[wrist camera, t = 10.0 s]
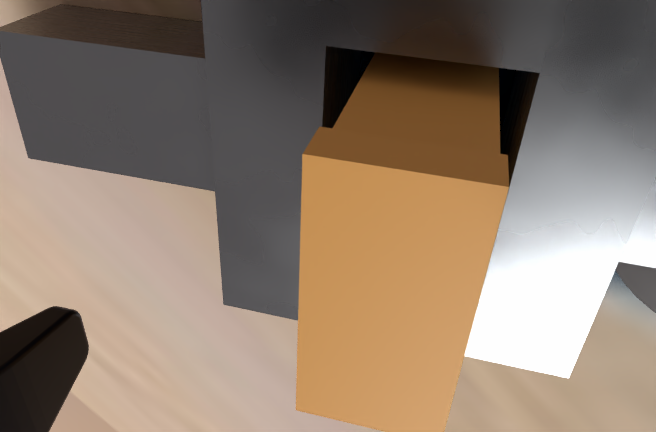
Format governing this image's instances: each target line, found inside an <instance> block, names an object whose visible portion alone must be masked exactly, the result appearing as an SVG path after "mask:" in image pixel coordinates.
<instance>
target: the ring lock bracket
mask: <svg viewBox="0 0 656 432" xmlns="http://www.w3.org/2000/svg"><path fill="white" fill-rule="evenodd" d="M201 7H202V21H203V22H199V21H191V20H183V19H175V18H166V17H158V16H150V15H142V14H134V13H126V12H118V11H110V10H102V9H93V8H85V7H77V6H69V5H61V4H60V5H57V6H55V7H52V8H49V9H47V10H44V11H41V12H39V13H36V14H33V15H31V16H28V17H25V18H23V19H20V20H18V21H15V22H12V23H10V24H7V25H4V26H2V27H0V58H1V62H2V65H3V69H4V72H5V76H6V80H7V83H8V87H9V90H10V94H11V97H12V101H13V105H14V108H15V112H16V115H17V119H18V122H19V126H20V130H21V133H22V137H23V140H24V144H25V147H26V151H27V155H28V158H31V159H36V160H42V161H47V162H53V163H59V164H64V165H70V166H76V167H81V168H87V169H92V170H98V171H104V172H109V173H115V174H121V175H126V176H132V177H138V178H143V179H149V180H154V181H160V182H166V183H171V184H177V185H183V186H188V187H194V188H199V189H205V190H211V191H215V196H216V209H217V223H218V236H219V250H220V263H221V277H222V290H223V304H224V305H228V306H233V307H237V308H242V309H247V310H251V311H256V312H261V313H266V314H270V315H275V316H280V317H284V318H289V319H294V320H298V307H299V268H300V230H301V191H302V154H303V152H304V151H305V149H306V147H307V146H308V144H309V143H310V141H311V139H312V138H313V136H314V134H315V133H316V131H317V129H318V128H319V127H326V128H333V127H334V125H335V123H336V121H337V120H338V118H339V116H340V114H341V112H342V111H343V109H344V107H345V105H346V104H347V102H348V100H349V98H350V97H351V95H352V93H353V91H354V89H355V88H356V86H357V84H358V82H359V70H360V58H361V50H362V51H370V52H378V53H386V54H394V55H402V56H410V57H418V58H426V59H434V60H441V61H449V62H457V63H465V64H473V65H481V66H489V67H497V68H505V69H513V70H516V73H515V77H514V82H513V86H512V90H511V94H510V98H509V102H508V106H507V111H506V115H505V119H504V123H503V127H502V131H501V135H500V154H505V155H508V171H509V189H508V193H507V197H506V201H505V205H504V208H503V212H502V216H501V220H500V223H499V227H498V231H497V235H496V238H495V242H494V246H493V250H492V254H491V257H490V261H489V265H488V269H487V272H486V276H485V280H484V284H483V287H482V291H481V295H480V299H479V303H478V306H477V310H476V314H475V318H474V321H473V325H472V329H471V333H470V336H469V340H468V344H467V348H466V351H465V355H464V356H467V357H471V358H476V359H481V360H485V361H490V362H495V363H499V364H504V365H509V366H513V367H518V368H523V369H527V370H532V371H537V372H541V373H546V374H551V375H556V376H560V377H565V378H569V376H570V374H571V372H572V370H573V367H574V365H575V363H576V360H577V358H578V356H579V353H580V351H581V349H582V346H583V344H584V342H585V339H586V337H587V335H588V332H589V330H590V328H591V325H592V323H593V321H594V318H595V316H596V314H597V311H598V309H599V307H600V304H601V302H602V300H603V297H604V295H605V293H606V290H607V288H608V286H609V283H610V281H611V279H612V276H613V274H614V272H615V270H616V271H617V273H618V274H619V276H620V278H621V279H622V281H623V282H624V283H625V285H626V286H627V287H628V288H629V289H630V290H631V291H632V292H633V294H634V295H635V296H636V297H637V298H638V299H639V300H641V301H642V302H643V303H644V304H645V305H646V306H648V307H649V308H650V309H651V310H652V311H654V312H655V313H656V0H201Z"/></svg>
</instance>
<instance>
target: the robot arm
mask: <svg viewBox="0 0 656 432" xmlns="http://www.w3.org/2000/svg"><path fill="white" fill-rule="evenodd" d="M88 350H89V345H88V341H87V337H86V333H85V329H84V326H83V322H82V318H81V316H80V314H79V313H78V312H77V311H76V310H72V309H68V308H63V307H58V306H54V307H50V308H48V309H45V310H44V311H42V312H40V313H38V314H36V315H34V316H32V317H30V318H28V319H26V320H24V321H22V322H20V323H18V324H16V325H14V326H12V327H10V328H8V329H6V330H4V331H2V332H0V432H49V430H50V428H51V427H52V425H53V423H54V421H55V419H56V417H57V415H58V413H59V411H60V409H61V407H62V405H63V403H64V401H65V399H66V398H67V396H68V394H69V392H70V390H71V388H72V386H73V384H74V382H75V380H76V378H77V376H78V374H79V372H80V370H81V369H82V367H83V365H84V363H85V361H86V358H87V355H88Z"/></svg>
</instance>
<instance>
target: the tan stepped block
mask: <svg viewBox="0 0 656 432" xmlns="http://www.w3.org/2000/svg"><path fill="white" fill-rule="evenodd" d="M508 189H509V171H508V155H505V154H500V102H499V68H497V67H489V66H481V65H473V64H465V63H457V62H449V61H441V60H434V59H426V58H418V57H410V56H402V55H394V54H386V53H378V52H375V54H374V56H373V58H372V59H371V61H370V63H369V65H368V66H367V68H366V70H365V72H364V73H363V75H362V77H361V79H360V81H359V82H358V84H357V86H356V88H355V89H354V91H353V93H352V95H351V97H350V98H349V100H348V102H347V104H346V105H345V107H344V109H343V111H342V112H341V114H340V116H339V118H338V120H337V121H336V123H335V125H334V127H333V128H326V127H319V128H318V129H317V131H316V133H315V134H314V136H313V138H312V139H311V141H310V143H309V144H308V146H307V147H306V149H305V151H304V152H303V154H302V191H301V230H300V268H299V307H298V346H297V384H296V410H297V411H302V412H306V413H310V414H314V415H318V416H322V417H327V418H331V419H335V420H339V421H343V422H347V423H351V424H356V425H360V426H364V427H368V428H372V429H376V430H380V431H385V432H444V431H445V427H446V423H447V419H448V416H449V412H450V408H451V404H452V400H453V397H454V393H455V389H456V385H457V382H458V378H459V374H460V370H461V367H462V363H463V359H464V355H465V351H466V348H467V344H468V340H469V336H470V333H471V329H472V325H473V321H474V318H475V314H476V310H477V306H478V303H479V299H480V295H481V291H482V287H483V284H484V280H485V276H486V272H487V269H488V265H489V261H490V257H491V254H492V250H493V246H494V242H495V238H496V235H497V231H498V227H499V223H500V220H501V216H502V212H503V208H504V205H505V201H506V197H507V193H508Z"/></svg>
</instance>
